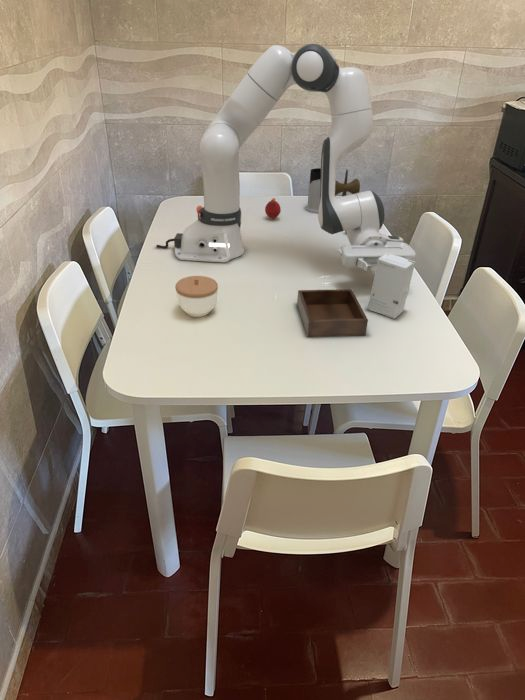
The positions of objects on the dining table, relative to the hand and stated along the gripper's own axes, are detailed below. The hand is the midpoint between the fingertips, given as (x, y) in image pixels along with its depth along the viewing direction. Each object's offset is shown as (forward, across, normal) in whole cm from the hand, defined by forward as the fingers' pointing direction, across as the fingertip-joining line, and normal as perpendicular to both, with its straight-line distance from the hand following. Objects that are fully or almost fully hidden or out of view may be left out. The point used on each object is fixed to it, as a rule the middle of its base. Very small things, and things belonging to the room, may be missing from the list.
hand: (385, 268), depth 140 cm
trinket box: (+2, -50, +11) cm, 51 cm away
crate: (+8, -16, +10) cm, 21 cm away
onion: (-68, -22, +11) cm, 72 cm away
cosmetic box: (+5, 0, +10) cm, 11 cm away
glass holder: (-82, -2, +10) cm, 82 cm away
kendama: (-62, +3, +10) cm, 63 cm away
